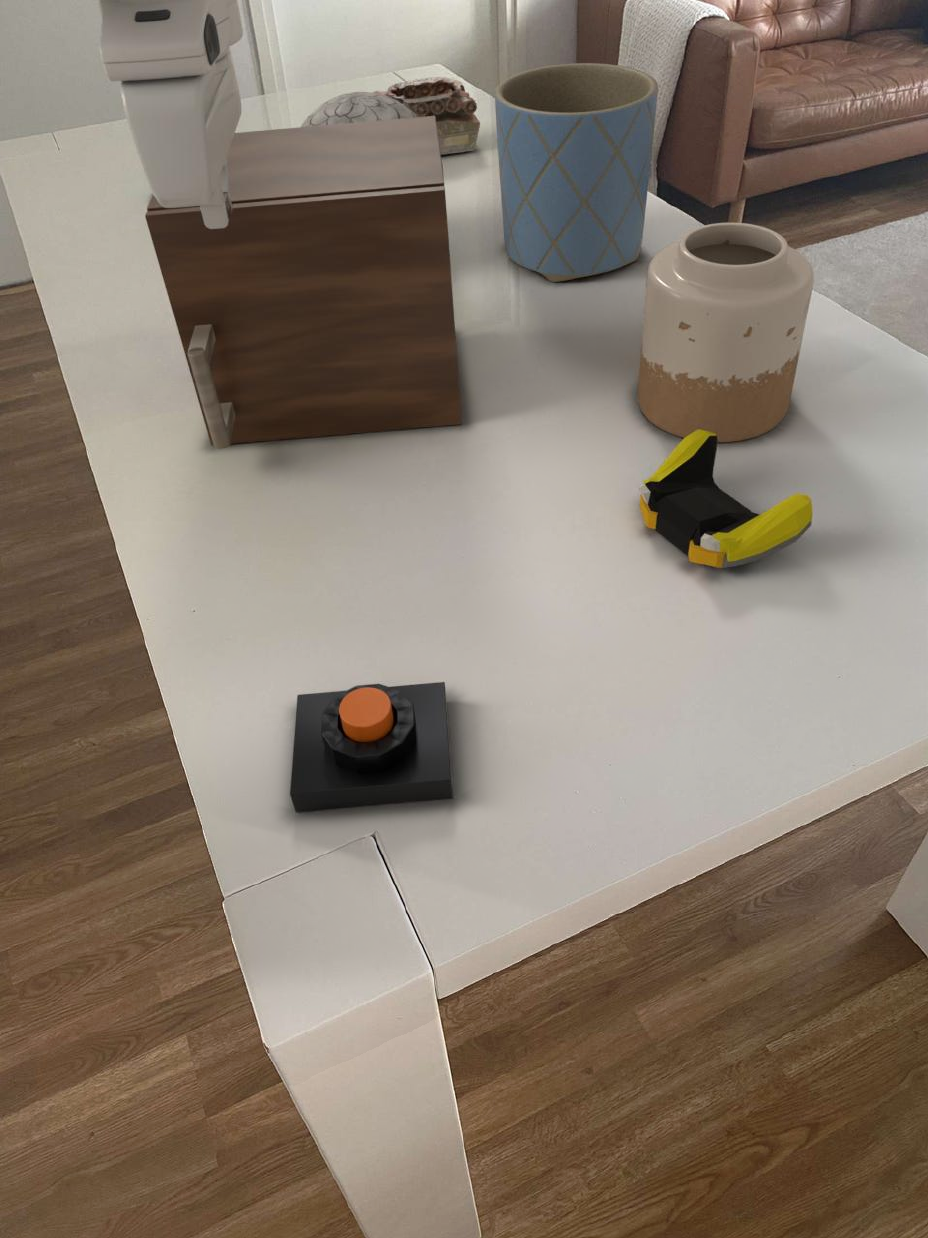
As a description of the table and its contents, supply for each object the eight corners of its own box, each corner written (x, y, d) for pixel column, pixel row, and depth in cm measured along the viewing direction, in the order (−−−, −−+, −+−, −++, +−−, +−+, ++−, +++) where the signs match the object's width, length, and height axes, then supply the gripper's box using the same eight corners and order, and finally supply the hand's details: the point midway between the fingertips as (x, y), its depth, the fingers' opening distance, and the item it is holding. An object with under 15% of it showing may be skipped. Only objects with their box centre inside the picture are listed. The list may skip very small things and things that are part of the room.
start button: (342, 745, 67) (338, 729, 66) (343, 705, 69) (339, 689, 68) (394, 740, 67) (391, 724, 66) (393, 701, 69) (390, 684, 68)
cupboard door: (465, 456, 96) (448, 216, 80) (203, 478, 96) (132, 243, 80) (461, 418, 101) (444, 185, 85) (212, 440, 101) (146, 210, 85)
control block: (295, 812, 67) (284, 778, 65) (302, 713, 74) (292, 678, 71) (453, 798, 68) (449, 763, 65) (446, 700, 74) (442, 665, 71)
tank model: (487, 164, 152) (484, 96, 146) (360, 179, 151) (351, 111, 144) (474, 136, 162) (471, 71, 155) (354, 150, 161) (346, 85, 154)
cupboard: (461, 418, 101) (444, 182, 85) (212, 440, 101) (146, 208, 85) (451, 334, 114) (435, 115, 98) (231, 353, 114) (177, 137, 97)
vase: (796, 374, 104) (828, 216, 92) (778, 454, 94) (811, 289, 82) (654, 356, 108) (667, 204, 96) (621, 431, 98) (632, 271, 86)
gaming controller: (697, 467, 93) (613, 505, 90) (704, 418, 89) (616, 456, 86) (815, 551, 83) (726, 597, 80) (828, 500, 80) (735, 545, 76)
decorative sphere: (354, 218, 140) (332, 64, 126) (475, 238, 133) (466, 77, 119) (272, 276, 128) (239, 113, 114) (400, 302, 121) (381, 131, 107)
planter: (675, 262, 124) (691, 91, 110) (543, 299, 119) (543, 125, 105) (597, 211, 137) (603, 53, 123) (475, 243, 132) (467, 81, 118)
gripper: (152, -18, 72) (198, 174, 82) (92, 59, 58) (156, 282, 67) (237, -25, 72) (272, 168, 82) (198, 51, 58) (247, 275, 67)
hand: (219, 221), depth 75 cm, fingers closed
